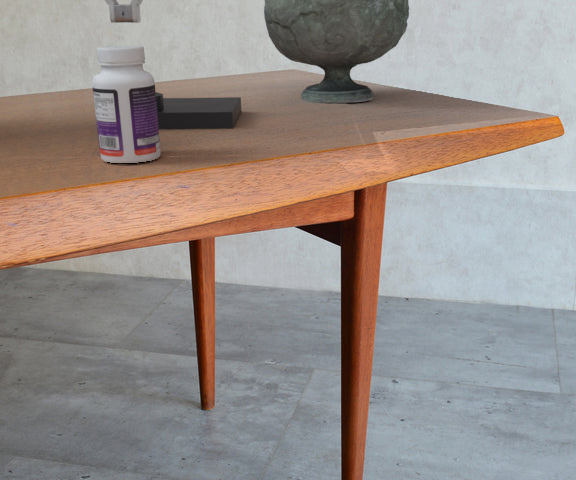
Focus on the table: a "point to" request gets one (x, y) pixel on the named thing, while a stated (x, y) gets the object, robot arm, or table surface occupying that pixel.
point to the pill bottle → (125, 106)
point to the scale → (197, 112)
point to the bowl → (335, 39)
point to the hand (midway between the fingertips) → (125, 22)
